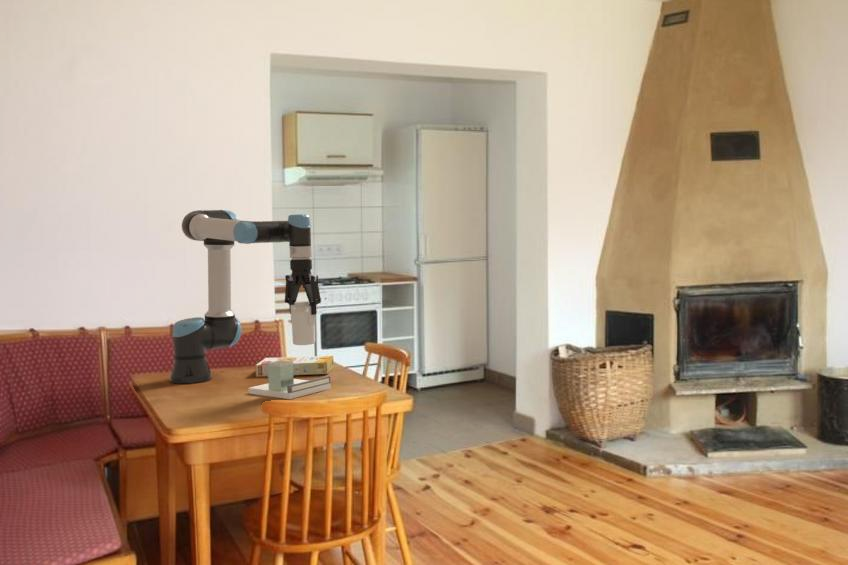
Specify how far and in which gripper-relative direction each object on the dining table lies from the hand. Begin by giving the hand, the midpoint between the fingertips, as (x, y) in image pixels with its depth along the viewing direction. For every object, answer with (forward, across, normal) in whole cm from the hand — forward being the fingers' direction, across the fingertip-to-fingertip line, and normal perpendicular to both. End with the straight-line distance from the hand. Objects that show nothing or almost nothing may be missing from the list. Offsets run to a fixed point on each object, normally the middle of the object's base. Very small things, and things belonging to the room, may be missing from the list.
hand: (303, 323), depth 289 cm
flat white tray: (+23, -3, -5) cm, 24 cm away
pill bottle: (+7, 0, 0) cm, 7 cm away
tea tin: (+21, -1, -11) cm, 24 cm away
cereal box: (+24, -30, +25) cm, 46 cm away
